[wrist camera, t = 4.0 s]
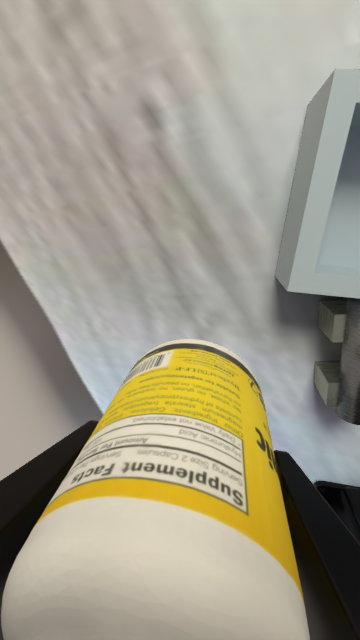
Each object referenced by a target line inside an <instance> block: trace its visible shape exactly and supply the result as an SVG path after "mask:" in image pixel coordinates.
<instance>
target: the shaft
mask: <svg viewBox="0 0 360 640" xmlns="http://www.w3.org/2000/svg"><path fill="white" fill-rule="evenodd" d="M318 326H319V327H320V329H321V330H322V331H323V332H324V333H325V335H326V336H327V337H328V338H329V339H330V341H331V342H342V352H341V361H328V362H315V373H314V384H315V386H316V388H317V389H318V391H319V393H320V395H321V397H322V399H323V401H324V403H325V405H326V406H336V409H335V410H336V413H337V415H338V416H339V417H340V418H342V419H343V420H345V421H347V422H349V423H352V424H356V425H360V299H359V298H347V299H346V300H328V301H319V315H318Z"/></svg>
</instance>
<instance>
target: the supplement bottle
mask: <svg viewBox="0 0 360 640" xmlns="http://www.w3.org/2000/svg"><path fill="white" fill-rule="evenodd" d="M1 626H2V633H3V639H4V640H310V635H309V629H308V623H307V617H306V611H305V605H304V599H303V593H302V588H301V584H300V579H299V574H298V569H297V564H296V559H295V555H294V550H293V545H292V540H291V535H290V530H289V526H288V521H287V516H286V511H285V506H284V501H283V496H282V491H281V486H280V481H279V476H278V470H277V465H276V461H275V456H274V451H273V446H272V441H271V436H270V431H269V426H268V421H267V416H266V410H265V405H264V401H263V397H262V393H261V389H260V386H259V383H258V381H257V379H256V377H255V375H254V374H253V372H252V370H251V369H250V368H249V367H248V365H247V364H246V363H245V362H244V361H243V360H242V359H241V358H240V357H238V356H237V355H236V354H234V353H233V352H231V351H230V350H228V349H226V348H224V347H222V346H220V345H217V344H215V343H211V342H208V341H203V340H197V339H179V340H173V341H169V342H166V343H163V344H160V345H158V346H156V347H154V348H153V349H151V350H150V351H148V352H147V353H146V354H144V355H143V356H142V357H141V358H140V359H139V360H138V362H137V363H136V364H135V365H134V367H133V368H132V370H131V371H130V373H129V375H128V376H127V377H126V379H125V381H124V382H123V384H122V386H121V387H120V389H119V390H118V392H117V394H116V395H115V397H114V398H113V400H112V402H111V403H110V405H109V407H108V409H107V410H106V412H105V414H104V415H103V417H102V418H101V420H100V421H99V423H98V424H97V426H96V428H95V430H94V431H93V433H92V435H91V436H90V438H89V439H88V441H87V442H86V444H85V445H84V448H83V449H82V451H81V452H80V454H79V456H78V457H77V459H76V460H75V462H74V464H73V466H72V467H71V469H70V471H69V472H68V474H67V475H66V477H65V479H64V480H63V481H62V483H61V485H60V487H59V488H58V490H57V491H56V493H55V494H54V496H53V498H52V499H51V501H50V502H49V504H48V506H47V507H46V509H45V510H44V512H43V514H42V515H41V517H40V518H39V520H38V522H37V523H36V525H35V526H34V528H33V529H32V531H31V533H30V535H29V537H28V539H27V540H26V542H25V544H24V545H23V547H22V549H21V550H20V552H19V554H18V555H17V557H16V559H15V562H14V564H13V566H12V568H11V571H10V573H9V575H8V578H7V581H6V584H5V589H4V593H3V598H2V608H1Z"/></svg>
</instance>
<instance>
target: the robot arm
mask: <svg viewBox="0 0 360 640" xmlns="http://www.w3.org/2000/svg"><path fill="white" fill-rule="evenodd" d="M98 423H99V421H96V420H91V421H89V422H87V423H86V424H84V425H83V426H81V427H80V428H78V429H77V430H75V431H74V432H72V433H71V434H69V435H68V436H66V437H65V438H64V439H62V440H61V441H59V442H57V443H56V444H55V445H53V446H52V447H50V448H49V449H47V450H46V451H44V452H43V453H41V454H40V455H38V456H37V457H35V458H34V459H32V460H31V461H29V462H28V463H26V464H25V465H23V466H22V467H20V468H19V469H18V470H16V471H15V472H13V473H12V474H10V475H9V476H7V477H6V478H4V479H3V480H1V481H0V640H4V639H3V633H2V626H1V608H2V598H3V593H4V589H5V584H6V581H7V578H8V575H9V573H10V571H11V568H12V566H13V564H14V562H15V559H16V557H17V555H18V554H19V552H20V550H21V549H22V547H23V545H24V544H25V542H26V540H27V539H28V537H29V535H30V533H31V531H32V529H33V528H34V526H35V525H36V523H37V522H38V520H39V518H40V517H41V515H42V514H43V512H44V510H45V509H46V507H47V506H48V504H49V502H50V501H51V499H52V498H53V496H54V494H55V493H56V491H57V490H58V488H59V487H60V485H61V483H62V481H63V480H64V479H65V477H66V475H67V474H68V472H69V471H70V469H71V467H72V466H73V464H74V462H75V460H76V459H77V457H78V456H79V454H80V452H81V451H82V449H83V448H84V445H85V444H86V442H87V441H88V439H89V438H90V436H91V435H92V433H93V431H94V430H95V428H96V426H97V424H98ZM274 456H275V461H276V465H277V470H278V476H279V481H280V486H281V491H282V496H283V501H284V506H285V511H286V516H287V521H288V526H289V530H290V535H291V540H292V545H293V550H294V555H295V559H296V564H297V569H298V574H299V579H300V584H301V588H302V593H303V599H304V605H305V611H306V617H307V623H308V629H309V635H310V640H360V487H355V486H349V485H343V484H337V483H332V482H326V481H317V482H316V483H315V484H314V485H313V484H312V482H311V481H310V480H309V479H308V477H307V476H306V475H305V473H304V472H303V471H302V470H301V468H300V467H299V466H298V465H297V463H296V462H295V461H294V459H293V458H292V457H291V456H290V454H289V453H287V452H284V451H278V450H275V451H274Z"/></svg>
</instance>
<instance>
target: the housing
mask: <svg viewBox="0 0 360 640" xmlns="http://www.w3.org/2000/svg"><path fill="white" fill-rule="evenodd" d="M275 277H276V278H277V279H278V280H279V282H280V283H281V284H282V285H283V287H284V288H285V289H286V290H287V291H289V292H299V293H309V294H319V295H329V296H339V297H349V298H359V299H360V69H335V70H334V71H333V73H332V74H331V75H330V77H329V78H328V79H327V80H326V82H325V83H324V84H323V86H322V87H321V88H320V90H319V91H318V92H317V94H316V95H315V96H314V97H313V99H312V100H311V101H310V103H309V104H308V107H307V113H306V118H305V123H304V128H303V133H302V138H301V143H300V149H299V154H298V159H297V164H296V169H295V174H294V179H293V185H292V190H291V195H290V200H289V205H288V210H287V215H286V221H285V226H284V231H283V236H282V241H281V246H280V251H279V257H278V262H277V267H276V272H275Z"/></svg>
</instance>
